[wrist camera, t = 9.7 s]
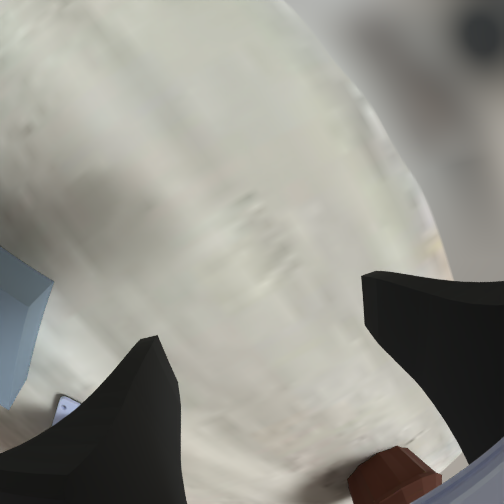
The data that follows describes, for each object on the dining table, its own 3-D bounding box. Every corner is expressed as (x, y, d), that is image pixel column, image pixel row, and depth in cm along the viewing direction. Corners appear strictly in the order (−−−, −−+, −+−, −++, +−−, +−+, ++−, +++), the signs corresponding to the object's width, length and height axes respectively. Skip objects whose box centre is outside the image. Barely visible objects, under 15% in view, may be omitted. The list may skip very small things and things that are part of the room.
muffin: (430, 434, 31) (472, 482, 21) (387, 486, 33) (417, 532, 23) (364, 443, 27) (407, 509, 18) (319, 498, 30) (347, 557, 20)
